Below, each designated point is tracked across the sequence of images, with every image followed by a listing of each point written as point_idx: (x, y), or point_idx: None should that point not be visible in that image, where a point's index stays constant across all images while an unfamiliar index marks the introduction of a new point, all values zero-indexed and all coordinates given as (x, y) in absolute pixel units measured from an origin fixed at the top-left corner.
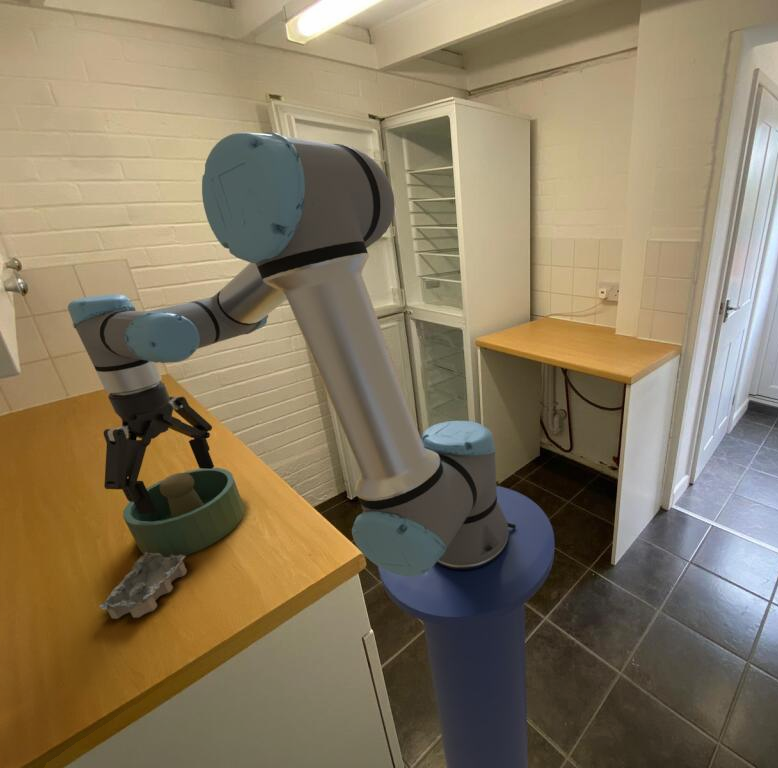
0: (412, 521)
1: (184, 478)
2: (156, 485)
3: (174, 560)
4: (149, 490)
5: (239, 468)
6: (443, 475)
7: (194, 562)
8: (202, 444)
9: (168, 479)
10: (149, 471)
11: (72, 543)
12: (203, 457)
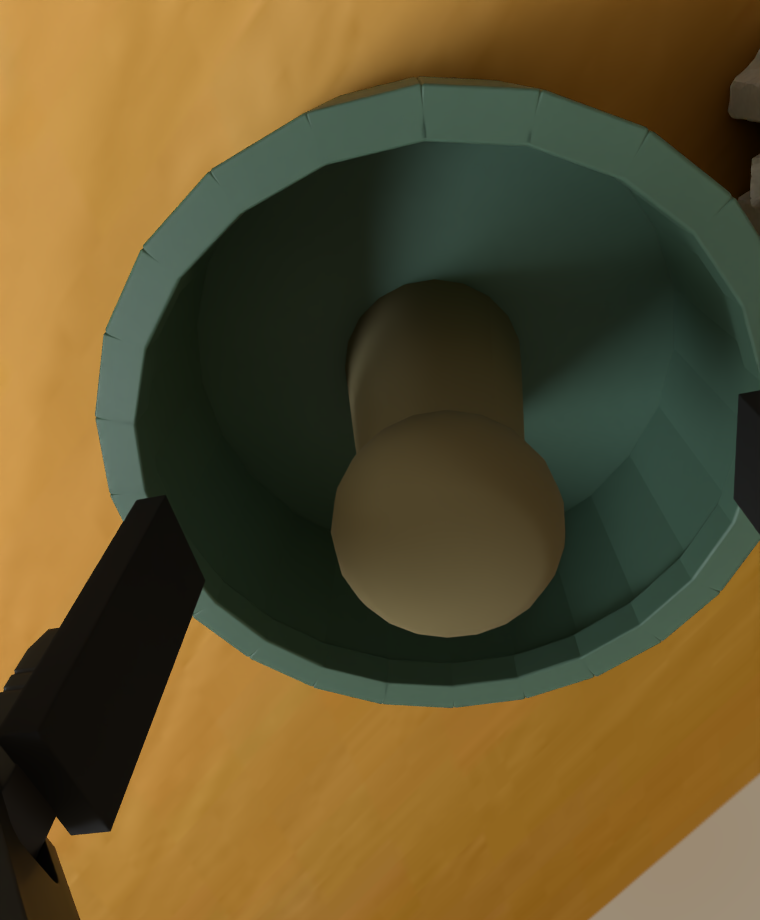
0: None
1: (423, 494)
2: (414, 685)
3: None
4: (460, 680)
5: (4, 550)
6: None
7: (687, 57)
8: (54, 693)
9: (488, 590)
10: (227, 837)
11: (630, 718)
12: (140, 600)
